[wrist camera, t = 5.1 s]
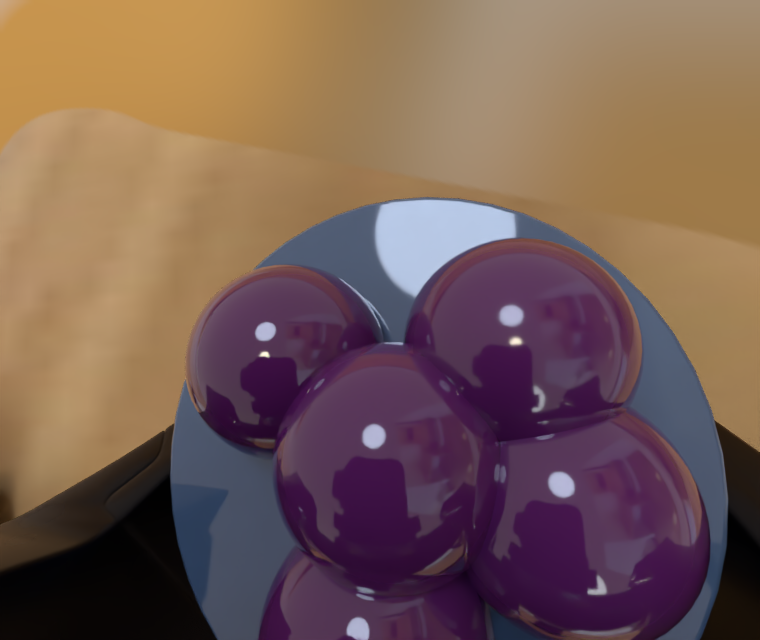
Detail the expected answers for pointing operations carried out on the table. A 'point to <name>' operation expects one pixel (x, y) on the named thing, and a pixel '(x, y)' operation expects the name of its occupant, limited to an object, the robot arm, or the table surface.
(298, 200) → the table surface
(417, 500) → the grape cup
